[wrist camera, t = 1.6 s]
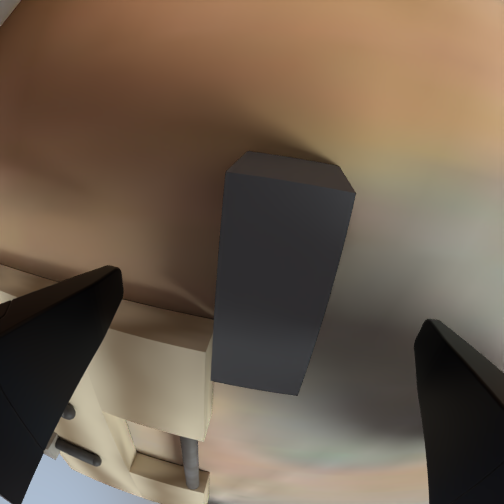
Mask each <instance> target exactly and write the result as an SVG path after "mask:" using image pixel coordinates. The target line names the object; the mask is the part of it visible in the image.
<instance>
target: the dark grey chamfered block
mask: <svg viewBox="0 0 504 504" xmlns="http://www.w3.org/2000/svg"><path fill="white" fill-rule="evenodd" d="M355 195H356V193H355V191H354V189H353V188H352V186H351V184H350V183H349V181H348V179H347V178H346V176H345V175H344V173H343V171H342V170H341V168H340V167H339V166H336V165H331V164H326V163H321V162H315V161H309V160H304V159H298V158H292V157H285V156H279V155H272V154H266V153H259V152H251V151H247V152H246V153H245V154H244V155H243V156H242V157H241V158H240V159H239V160H238V161H236V162H235V163H234V164H233V165H232V166H231V167H230V168H229V169H228V170H227V171H226V174H225V184H224V195H223V206H222V217H221V229H220V241H219V254H218V267H217V281H216V295H215V310H214V326H213V343H212V361H211V381H214V382H219V383H224V384H229V385H234V386H239V387H245V388H250V389H256V390H262V391H268V392H275V393H281V394H288V395H296V396H298V393H299V390H300V387H301V385H302V382H303V379H304V376H305V373H306V370H307V367H308V364H309V361H310V358H311V355H312V352H313V349H314V346H315V343H316V340H317V337H318V334H319V330H320V327H321V324H322V321H323V317H324V314H325V311H326V307H327V304H328V301H329V297H330V294H331V290H332V287H333V283H334V279H335V276H336V272H337V269H338V265H339V261H340V257H341V253H342V250H343V246H344V242H345V238H346V234H347V230H348V226H349V221H350V217H351V213H352V209H353V204H354V200H355Z"/></svg>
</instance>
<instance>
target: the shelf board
mask: <svg viewBox="0 0 504 504" xmlns="http://www.w3.org/2000/svg"><path fill="white" fill-rule="evenodd" d="M55 283H58V282H56V281H52V280H49V279H46V278H42V277H39V276H36V275H32V274H29V273H26V272H23V271H20V270H16V269H13V268H10V267H7V266H4V265H1V264H0V304H1V303H4V302H6V301H9V300H11V301H12V299H15V298H17V297H20V296H23V295H25V294H28V293H31V292H33V291H36V290H39V289H42V288H44V287H47V286H50V285H53V284H55ZM213 326H214V320H213V319H208V318H203V317H198V316H193V315H189V314H184V313H179V312H175V311H170V310H165V309H161V308H157V307H152V306H148V305H144V304H139V303H135V302H131V301H127V300H123V299H122V301H121V303H120V305H119V307H118V309H117V311H116V314H115V316H114V318H113V320H112V322H111V325H110V327H109V329H108V331H107V333H106V336H105V338H104V339H103V341H102V343H101V345H100V347H99V348H98V350H97V352H96V354H95V355H94V357H93V359H92V361H91V362H90V364H89V366H88V368H87V369H86V371H85V373H84V375H83V377H82V378H81V380H80V382H79V384H78V386H77V388H76V390H75V391H74V393H73V395H72V397H71V399H70V401H69V403H68V405H67V407H66V408H65V410H64V412H63V414H62V416H61V418H60V420H59V422H58V424H57V426H56V428H55V430H54V432H53V434H52V436H51V438H50V440H49V442H48V444H47V447H46V449H45V450H44V454H46V455H47V456H49V457H51V458H54V459H55V460H56V458H57V456H58V455H59V453H60V454H61V456H62V457H63V458H64V460H65V461H66V462H67V464H68V465H69V466H70V467H71V469H73V470H75V471H77V472H79V473H81V474H84V475H86V476H88V477H90V478H92V479H95V480H97V481H99V482H102V483H104V484H107V485H109V486H112V487H114V488H117V489H120V490H122V491H125V492H128V493H130V494H133V495H136V496H139V497H142V498H145V499H148V500H151V501H154V502H158V503H161V504H207V503H208V499H209V472H205V471H200V470H199V462H198V440H199V441H203V442H204V439H205V436H206V432H207V429H208V425H209V422H210V418H211V415H212V401H213V382H214V381H211V361H212V343H213ZM126 420H128V421H131V422H134V423H137V424H140V425H144V426H147V427H150V428H153V429H157V430H160V431H164V432H167V433H171V434H175V435H178V436H180V441H181V449H182V457H183V465H184V466H180V465H176V464H173V463H169V462H166V461H162V460H159V459H155V458H152V457H149V456H146V455H143V454H140V453H137V451H136V449H135V446H134V443H133V440H132V437H131V435H130V432H129V429H128V426H127V423H126Z"/></svg>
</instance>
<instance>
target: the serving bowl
mask: <svg viewBox="0 0 504 504" xmlns="http://www.w3.org/2000/svg"><path fill="white" fill-rule="evenodd" d="M20 1H21V0H0V26H1V25H2V24H3V23H4V21H5V20H6V19H7V18H8V16H9V15H10V14H11V13H12V11H13V10H14V9H15V8H16V6H17V5H18V4H19V3H20Z"/></svg>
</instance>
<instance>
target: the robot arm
mask: <svg viewBox="0 0 504 504" xmlns="http://www.w3.org/2000/svg"><path fill="white" fill-rule="evenodd" d="M122 298H123V282H122V273H121V270H120V268H118V267H114V266H109V265H107V266H104V267H101V268H98V269H95V270H92V271H89V272H86V273H84V274H81V275H78V276H75V277H72V278H69V279H67V280H64V281H61V282H58V283H55V284H53V285H50V286H47V287H44V288H42V289H39V290H36V291H33V292H31V293H28V294H25V295H23V296H20V297H17V298H15V299H12V301H11V300H9V301H6V302H4V303H1V304H0V496H1V497H3V498H4V499H6V500H7V501H9V502H10V503H11V504H21V503H22V501H23V498H24V496H25V494H26V491H27V489H28V487H29V484H30V482H31V480H32V477H33V475H34V473H35V471H36V469H37V466H38V464H39V462H40V460H41V458H42V455H43V453H44V450H45V449H46V447H47V444H48V442H49V440H50V438H51V436H52V434H53V432H54V430H55V428H56V426H57V424H58V422H59V420H60V418H61V416H62V414H63V412H64V410H65V408H66V407H67V405H68V403H69V401H70V399H71V397H72V395H73V393H74V391H75V390H76V388H77V386H78V384H79V382H80V380H81V378H82V377H83V375H84V373H85V371H86V369H87V368H88V366H89V364H90V362H91V361H92V359H93V357H94V355H95V354H96V352H97V350H98V348H99V347H100V345H101V343H102V341H103V339H104V338H105V336H106V333H107V331H108V329H109V327H110V325H111V322H112V320H113V318H114V316H115V314H116V311H117V309H118V307H119V305H120V303H121V301H122ZM414 353H415V364H416V377H417V390H418V397H419V403H420V410H421V417H422V424H423V432H424V440H425V449H426V459H427V471H428V485H429V504H504V373H503V372H502V371H500V370H499V369H498V368H497V367H496V366H495V365H493V364H492V363H491V362H490V361H489V360H487V359H486V358H485V357H484V356H483V355H482V354H480V353H479V352H478V351H477V350H476V349H474V348H473V347H472V346H471V345H469V344H468V343H467V342H466V341H465V340H463V339H462V338H461V337H460V336H458V335H457V334H456V333H455V332H453V331H452V330H451V329H450V328H448V327H447V326H446V325H445V324H443V323H442V322H441V321H439V320H435V319H427V320H425V322H424V323H423V325H422V327H421V330H420V332H419V334H418V336H417V338H416V340H415V343H414Z"/></svg>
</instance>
